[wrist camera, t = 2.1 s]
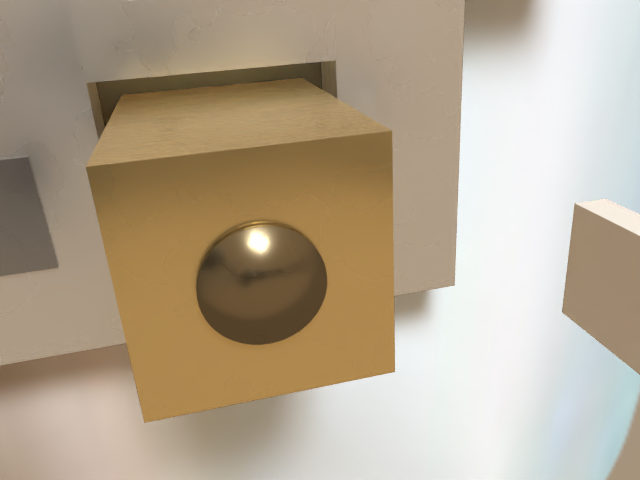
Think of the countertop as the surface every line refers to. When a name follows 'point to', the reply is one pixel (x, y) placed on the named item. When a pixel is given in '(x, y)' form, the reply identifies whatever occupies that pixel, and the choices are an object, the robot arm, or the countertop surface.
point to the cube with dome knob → (246, 241)
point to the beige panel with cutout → (196, 57)
